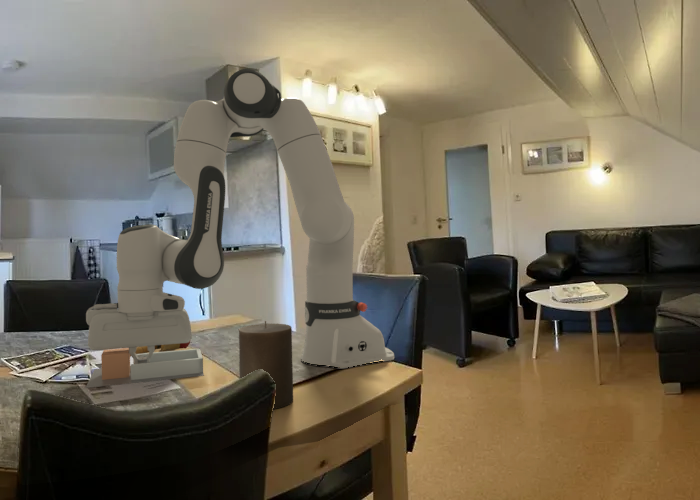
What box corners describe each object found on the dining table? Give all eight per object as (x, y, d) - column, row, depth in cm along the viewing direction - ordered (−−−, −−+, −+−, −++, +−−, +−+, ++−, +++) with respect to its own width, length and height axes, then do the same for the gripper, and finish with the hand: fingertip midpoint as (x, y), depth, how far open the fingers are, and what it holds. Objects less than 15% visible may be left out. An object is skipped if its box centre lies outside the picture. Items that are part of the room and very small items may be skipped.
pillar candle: (296, 407, 92) (295, 323, 91) (240, 412, 89) (239, 326, 89) (289, 391, 101) (288, 315, 100) (238, 395, 99) (237, 317, 98)
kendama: (136, 371, 121) (199, 345, 135) (129, 345, 121) (193, 322, 135) (120, 371, 126) (183, 347, 140) (113, 346, 126) (177, 324, 140)
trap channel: (199, 365, 120) (199, 346, 120) (204, 382, 107) (203, 361, 107) (94, 375, 113) (94, 355, 112) (85, 395, 99) (84, 372, 99)
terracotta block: (130, 370, 111) (129, 347, 111) (129, 377, 106) (128, 353, 106) (104, 373, 109) (103, 349, 109) (102, 379, 104) (101, 355, 104)
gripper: (83, 307, 102) (85, 376, 103) (191, 301, 109) (192, 365, 110) (87, 302, 108) (89, 367, 109) (190, 297, 115) (191, 358, 116)
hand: (142, 366), depth 109 cm, fingers closed
